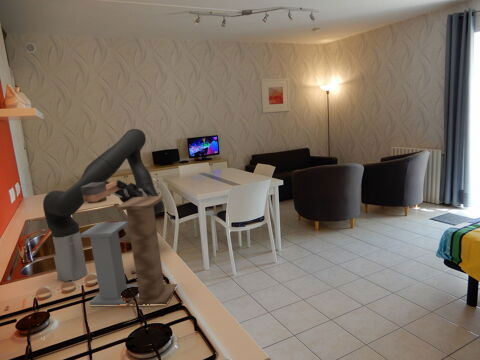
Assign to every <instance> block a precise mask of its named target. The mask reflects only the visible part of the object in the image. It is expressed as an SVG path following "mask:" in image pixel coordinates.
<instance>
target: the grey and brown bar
mask: <svg viewBox="0 0 480 360" xmlns="http://www.w3.org/2000/svg"><path fill="white" fill-rule="evenodd" d="M121 181H122V182H123V183H126V181H125V180H121ZM119 189H120V188H119V187H117V180H114V181H111V182H109V184H107V185H106V184H105V182H95V183H90V184H87V185H85V186H82V187H81V193H82V195H83V200H84V203H88V202H94V201H98V200H100V199H102V198H104V197H106V198H107V197H109V196H108V195H110V194H111V195H113V194H112V193H114V192H116V191H118V190H119ZM111 195H110V196H111Z"/></svg>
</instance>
